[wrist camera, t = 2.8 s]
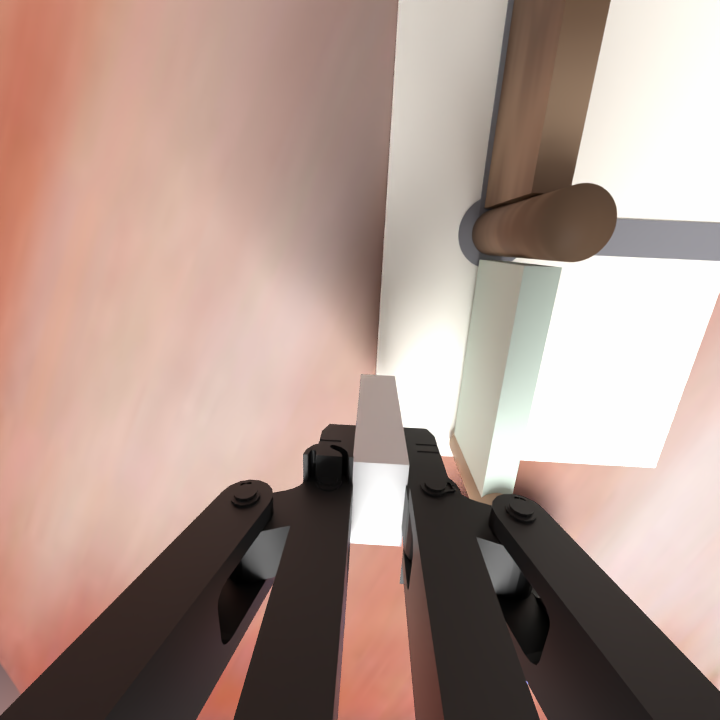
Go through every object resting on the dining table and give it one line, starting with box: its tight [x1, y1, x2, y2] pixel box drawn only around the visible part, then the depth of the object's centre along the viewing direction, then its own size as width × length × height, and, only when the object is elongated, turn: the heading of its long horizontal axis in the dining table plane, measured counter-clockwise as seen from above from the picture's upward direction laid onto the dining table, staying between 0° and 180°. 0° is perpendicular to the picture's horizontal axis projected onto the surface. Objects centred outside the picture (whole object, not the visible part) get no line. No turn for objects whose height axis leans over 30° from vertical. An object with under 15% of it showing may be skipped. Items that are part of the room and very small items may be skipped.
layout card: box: [376, 0, 720, 468], centre depth 16 cm, size 26×16×1 cm, turn 178°
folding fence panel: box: [449, 260, 562, 505], centre depth 15 cm, size 10×2×6 cm, turn 178°
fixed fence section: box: [472, 0, 617, 262], centre depth 11 cm, size 14×2×7 cm, turn 178°
